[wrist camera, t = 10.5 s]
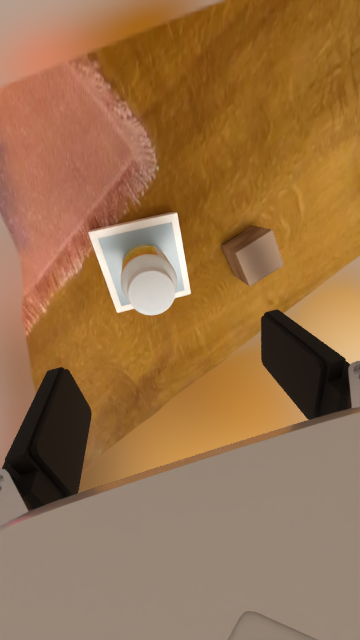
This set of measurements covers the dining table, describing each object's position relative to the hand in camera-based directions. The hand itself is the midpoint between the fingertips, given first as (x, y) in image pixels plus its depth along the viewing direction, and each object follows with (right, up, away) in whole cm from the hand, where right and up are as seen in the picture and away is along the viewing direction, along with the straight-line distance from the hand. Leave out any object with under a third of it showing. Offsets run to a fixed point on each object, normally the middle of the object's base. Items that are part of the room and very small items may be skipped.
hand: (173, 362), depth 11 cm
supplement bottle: (-4, +9, +17) cm, 19 cm away
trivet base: (-5, +10, +19) cm, 22 cm away
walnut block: (+9, +12, +22) cm, 26 cm away
